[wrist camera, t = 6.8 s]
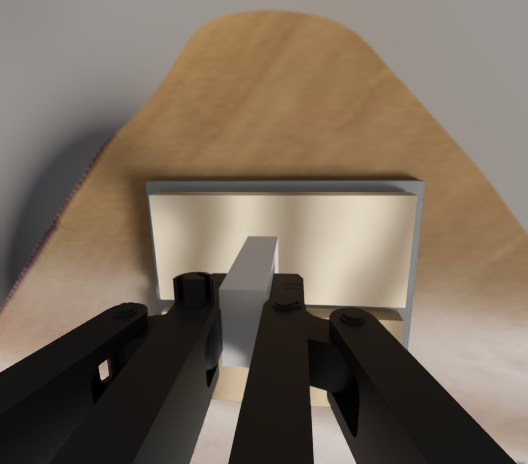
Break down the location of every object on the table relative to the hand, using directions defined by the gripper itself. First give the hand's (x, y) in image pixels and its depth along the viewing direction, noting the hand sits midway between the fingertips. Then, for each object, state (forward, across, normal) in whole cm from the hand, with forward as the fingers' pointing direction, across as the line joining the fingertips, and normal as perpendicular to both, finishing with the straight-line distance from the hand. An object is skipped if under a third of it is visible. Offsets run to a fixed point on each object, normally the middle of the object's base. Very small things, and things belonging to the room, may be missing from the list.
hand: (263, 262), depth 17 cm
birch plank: (+8, 0, -2) cm, 8 cm away
